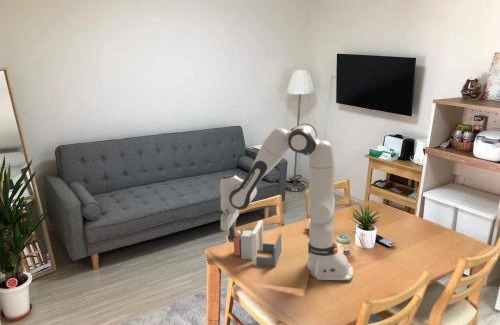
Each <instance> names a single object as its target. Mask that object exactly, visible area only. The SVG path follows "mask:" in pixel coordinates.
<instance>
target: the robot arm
mask: <svg viewBox="0 0 500 325" xmlns="http://www.w3.org/2000/svg"><path fill="white" fill-rule="evenodd" d="M317 136H318V135H317V131H316V128H315V127H314V126H313V125H311V124H309V123H301V124H299V125H297V126H295V127H293V128H291V129H290V130H288V129H286V128H284V127H276V128H275V129H273V130H272V131H271V132H270V133H269V135H268V136H267V137H266V138H265V140H264V142H263V143H262V144H261V147H260V148H259V151H258V153H257V155H256V157H255V159H254V162H253V163H252V166H251V168H250V170H249V172H248V173H247V175H246V176H245V178H244V179H243V178H241V177H239V176H237V174H234V173H229V174H226V175H223V176H222V177H221V178H220V184H219V192H220V210H221V211H222V212H223V213H222V214H221V215H220V216H221V217H220V230H221V231H223V232H225V236H227V237H228V236H229V235H230V231H229V228H230V227H231V225H234V226H235V227H236V223H237V218H238V217H239V215H240V211H241V210H245V209H247V208H248V206H249V205H250V203H251V202H252V201H253V199H254V198H255V197H256V196H257V193H258V188H257V186H258V184H259V183H260V181H261V180H262V179H263V178H264V176H265V177H266V175H267V174H268V173H269V172H270V171H271V170H273V169H274V168H275V167H276V166H277V165H278V164H279V163H280V162H281V161H282V159H283V158H284V156H285V154H286V153H287V151H288V150H289V149H291V151H293V152H295V153H297V154H301V155H303V156H304V155H305V156H308V169H309V170H308V174H309V176H308V178H309V180H308V181H309V182H308V183H309V184H308V202H307V205H308V206H307V213H308V217H309V219H310V222H309V223H310V227H309V226H308V228H309V232H308V234H309V239H308V240H309V241H308V242H307V244H308V245H307V253H308V257H307V262H306V267H307V268H308V270H309V275H311V276H312V277H314V279H316V280H317V281H350V280H351V279H352V278H353V276H354V267H353V266H352V264H351V263H349V261H348V258H347V256H346V255H345V254H343V253H342V252H340V251H339V249H338V244H337V242H335V243H334V221H335V202H336V201H335V200H336V198H335V196H334V191H335V188H334V186H335V157H334V149H333V145H332V144H331V142H329V141H327V140H322V139H321V140H320V139H318V138H317Z"/></svg>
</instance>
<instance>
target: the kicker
mask: <svg viewBox="0 0 500 325" xmlns="http://www.w3.org/2000/svg"><path fill="white" fill-rule="evenodd" d="M235 228H236V225H235V226H234V225H231V227H230V228H229V231H230V235H229V236H227V242H228V243H230V242H231V243H233V254H234V256H241V235H242V233H241V231H240V230H237V229H235Z"/></svg>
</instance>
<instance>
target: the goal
mask: <svg viewBox="0 0 500 325" xmlns="http://www.w3.org/2000/svg"><path fill="white" fill-rule="evenodd" d="M252 231H253V232H252V259H251V260H252V265H254V266H257V265H258V266H268V267H273V268H276V267H277V264H278V261H279V259H280V256H281V254H282V233H278V236H277V238H276V240H275V243H267V242H264V220H258V221H257V224H256V225H255V227H254V229H253V230H252ZM257 243H258V252H270V253H271V252H273V253H272V255H273V256H272V257H269V256H260V255H258V253H257Z"/></svg>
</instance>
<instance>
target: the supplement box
mask: <svg viewBox="0 0 500 325" xmlns="http://www.w3.org/2000/svg"><path fill="white" fill-rule="evenodd" d="M252 232H253V230H242V233H241V255H240V256H241V257H240V258H241V259H243V260H252ZM258 253H259V242H257V254H258Z"/></svg>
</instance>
